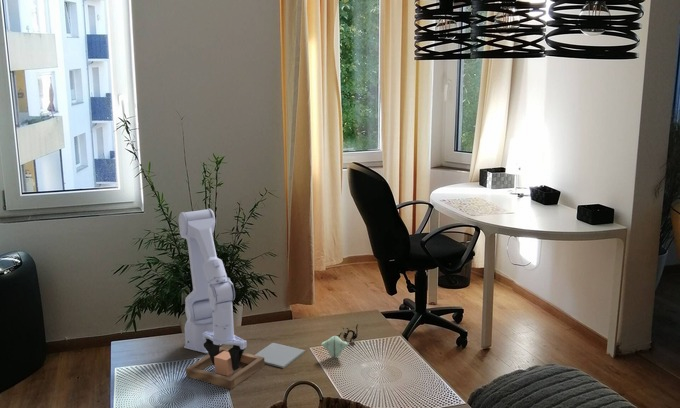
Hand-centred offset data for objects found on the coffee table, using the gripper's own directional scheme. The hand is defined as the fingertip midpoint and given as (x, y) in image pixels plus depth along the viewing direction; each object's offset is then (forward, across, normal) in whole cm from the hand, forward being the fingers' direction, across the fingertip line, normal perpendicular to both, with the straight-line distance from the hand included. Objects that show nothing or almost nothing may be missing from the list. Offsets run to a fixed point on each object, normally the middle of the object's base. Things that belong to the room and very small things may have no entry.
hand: (225, 366), depth 198 cm
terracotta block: (+2, 0, 0) cm, 2 cm away
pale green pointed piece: (+2, +24, +22) cm, 33 cm away
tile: (+1, +8, +15) cm, 17 cm away
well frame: (+1, 0, 0) cm, 1 cm away
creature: (+2, +21, +34) cm, 40 cm away
